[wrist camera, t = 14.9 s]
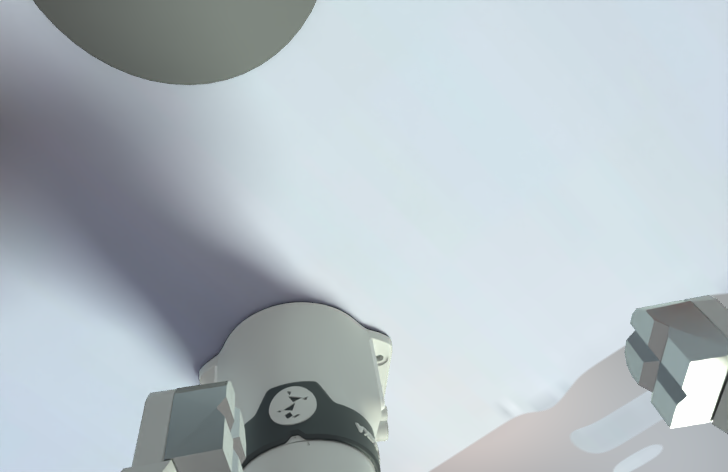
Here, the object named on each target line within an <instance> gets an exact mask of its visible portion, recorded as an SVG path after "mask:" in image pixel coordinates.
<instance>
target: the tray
mask: <svg viewBox="0 0 728 472" xmlns="http://www.w3.org/2000/svg"><path fill="white" fill-rule="evenodd" d="M33 1H34V2H35V4H36V5H37V6H38V8H39V9H40V10H41V11H42V12H43V13H44V14H45V16H46V17H47V18H48V19H49V20H50V21H51V22H52V23H53V24H54V25H55V26H56V27H57V28H58V29H59V30H60V31H61V32H62V33H63V34H65V35H66V36H67V37H68V38H69V39H70V40H71V41H72V42H74V43H75V44H76V45H78V46H79V47H81V48H82V49H83V50H85V51H86V52H88V53H89V54H90V55H92V56H94V57H95V58H97V59H99V60H101V61H103V62H104V63H106V64H108V65H110V66H112V67H114V68H116V69H119V70H121V71H123V72H126V73H128V74H130V75H134V76H137V77H140V78H144V79H147V80H150V81H156V82H162V83H167V84H181V85H196V84H209V83H213V82H218V81H223V80H227V79H230V78H233V77H236V76H239V75H242V74H244V73H246V72H248V71H250V70H252V69H254V68H256V67H258V66H260V65H262V64H263V63H264V62H266V61H267V60H269V59H270V58H272V57H273V56H275V55H276V54H277V53H278V52H279V51H280V50H281V49H282V48H283V47H285V46H286V45H287V44H288V43H289V42H290V41H291V39H292V38H293V37H294V36H295V35H296V33H297V32H298V31H299V30H300V29H301V27H302V26H303V24H304V22H305V21H306V19H307V18H308V16H309V15H310V13H311V11H312V9H313V7H314V5H315V3H316V0H33Z"/></svg>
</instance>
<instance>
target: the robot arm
mask: <svg viewBox="0 0 728 472" xmlns="http://www.w3.org/2000/svg"><path fill="white" fill-rule="evenodd" d="M630 324H631V325H632V326H633V328H634V329H635V331H634V332H633V334H632V335H631V336H630V337H629V338H628V339H627V340H626V347H625V357H626V363H627V366H628V368H629V371H630V373H631V375H632V376H633V378H634V379H635V381H636V382H637V384H638V385H640V386H641V387H643V388H645V389H647V390H649V391H651V392H652V395H651V403H652V404H653V406H654V407H655V408H656V410H657V411H658V413H659V414H660V415H661V417H662V418H663V419H664V421H665V422H666V423H667V425H668V426H669V427H670V428H676V427H683V426H689V425H695V424H701V423H706V422H712V424H713V425H714V426H716V427H717V428H719V429H721V430H722V431H724V432H725V433H727V434H728V309H727V308H726V307H725V306H724V305H723V304H722V303H720V301H718V300H717V299H716V298H714V297H712V296H710V295H706V296H701V297H695V298H690V299H685V300H679V301H674V302H669V303H663V304H658V305H653V306H647V307H642V308H637V309H636V310H635V311H634V313H633V314H632V318H631V322H630ZM378 355H380V356H378ZM391 355H392V342H391V339H390V338H389V337H388V336H386V335H384V334H381V333H379V332H375V331H372V330H368V329H366V328H364V327H363V326H361V325H360V324H359V323H358V322H357V321H355V320H354V319H353V318H352V317H350V316H349V315H347V314H346V313H344V312H342V311H340V310H338V309H336V308H333V307H330V306H327V305H323V304H317V303H309V302H295V303H286V304H280V305H276V306H273V307H269V308H267V309H264V310H261V311H259V312H257V313H255V314H253V315H252V316H250V317H248V318H247V319H246V320H244V321H243V322H242V323H240V324H239V325H238V326H237V327H236V328H235V329H234V330H233V331H232V333H231V334H230V335H229V337H228V338H227V340H226V342H225V344H224V346H223V348H222V350H221V351H220V353H219V354H218V355H217V356H215V357H214V358H213V359H211V360H210V361H209V362H207V363H206V364H205V365H204V366H203V367H202V368H201V369H200V371H199V381H200V384H201V385H196V386H189V387H183V388H177V389H173V390H167V391H160V392H153V393H150V394H149V396H148V397H147V399H146V402H145V406H144V411H143V416H142V420H141V425H140V430H139V434H138V439H137V444H136V449H135V453H134V458H133V463H132V467H129V468H124V469H123V470H122V471H121V472H380V458H379V457H380V456H379V450H378V447H377V443H376V441H377V442H379V441H386V440H388V423H387V416H388V415H387V407H386V406H385V401H384V396H385V390H386V384H387V378H388V372H389V367H390V361H391Z"/></svg>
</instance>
